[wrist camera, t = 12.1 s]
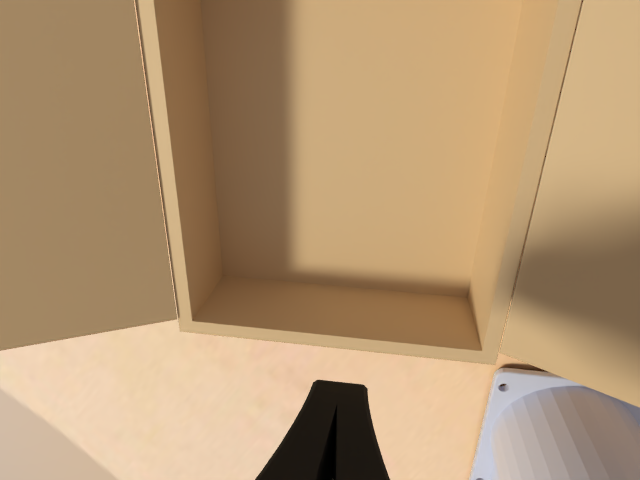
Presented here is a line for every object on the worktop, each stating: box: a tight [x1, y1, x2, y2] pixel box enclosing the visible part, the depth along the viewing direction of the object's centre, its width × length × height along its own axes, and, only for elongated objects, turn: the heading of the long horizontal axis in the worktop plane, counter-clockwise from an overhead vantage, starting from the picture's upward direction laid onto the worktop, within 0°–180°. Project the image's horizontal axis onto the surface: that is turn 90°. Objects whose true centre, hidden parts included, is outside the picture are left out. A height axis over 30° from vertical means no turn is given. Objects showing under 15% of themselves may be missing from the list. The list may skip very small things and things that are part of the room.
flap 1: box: [0, 0, 177, 351], centre depth 15 cm, size 6×14×1 cm, turn 179°
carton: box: [135, 0, 582, 365], centre depth 17 cm, size 15×13×4 cm
